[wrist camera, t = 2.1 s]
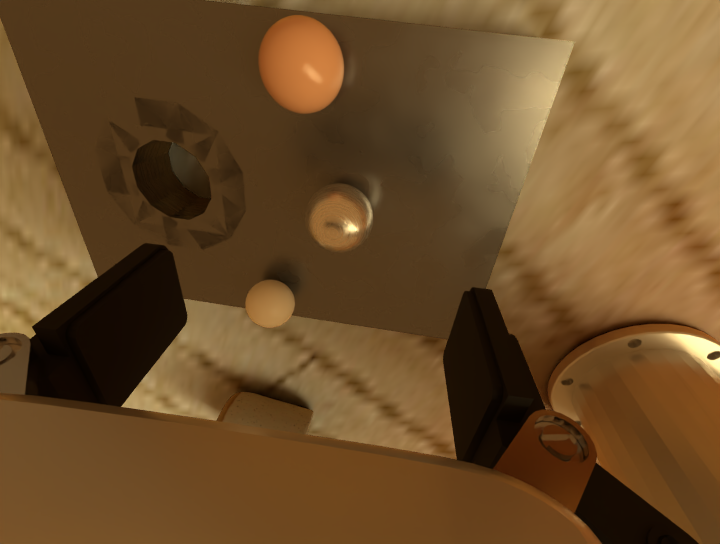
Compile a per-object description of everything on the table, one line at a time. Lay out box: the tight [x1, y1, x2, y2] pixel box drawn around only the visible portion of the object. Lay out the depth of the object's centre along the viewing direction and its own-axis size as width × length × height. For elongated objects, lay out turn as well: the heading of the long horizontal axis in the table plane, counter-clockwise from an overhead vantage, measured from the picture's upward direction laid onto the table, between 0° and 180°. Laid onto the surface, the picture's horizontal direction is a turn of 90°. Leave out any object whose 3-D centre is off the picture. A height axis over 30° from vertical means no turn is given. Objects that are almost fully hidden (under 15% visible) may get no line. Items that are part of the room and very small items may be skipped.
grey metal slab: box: [0, 0, 575, 339], centre depth 21 cm, size 26×17×4 cm, turn 84°
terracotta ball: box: [258, 15, 344, 114], centre depth 14 cm, size 4×4×4 cm
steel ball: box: [305, 183, 373, 252], centre depth 18 cm, size 4×4×4 cm
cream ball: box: [245, 280, 295, 328], centre depth 22 cm, size 3×3×3 cm
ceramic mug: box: [217, 392, 313, 435], centre depth 33 cm, size 11×8×8 cm
